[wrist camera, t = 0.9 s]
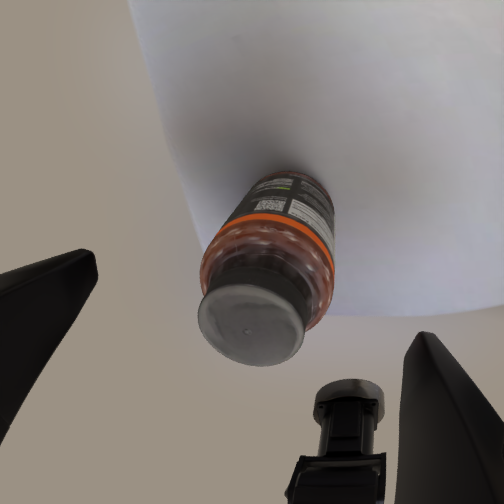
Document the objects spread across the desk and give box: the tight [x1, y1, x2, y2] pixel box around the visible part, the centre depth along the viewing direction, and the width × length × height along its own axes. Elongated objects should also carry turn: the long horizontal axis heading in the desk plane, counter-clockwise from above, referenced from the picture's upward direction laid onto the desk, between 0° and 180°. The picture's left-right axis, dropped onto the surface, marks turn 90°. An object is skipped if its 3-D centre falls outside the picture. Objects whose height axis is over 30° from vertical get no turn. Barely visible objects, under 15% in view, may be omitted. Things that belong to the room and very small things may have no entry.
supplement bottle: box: [198, 171, 335, 366], centre depth 16 cm, size 6×6×11 cm
